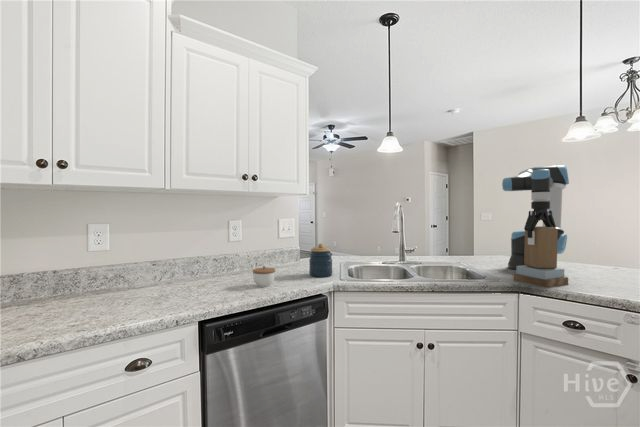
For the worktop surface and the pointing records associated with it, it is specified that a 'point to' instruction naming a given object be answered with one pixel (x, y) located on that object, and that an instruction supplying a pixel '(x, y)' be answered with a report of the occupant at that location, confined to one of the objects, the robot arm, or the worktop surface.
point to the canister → (320, 261)
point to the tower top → (540, 272)
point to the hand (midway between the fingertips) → (540, 243)
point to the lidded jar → (263, 276)
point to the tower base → (541, 280)
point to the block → (542, 248)
